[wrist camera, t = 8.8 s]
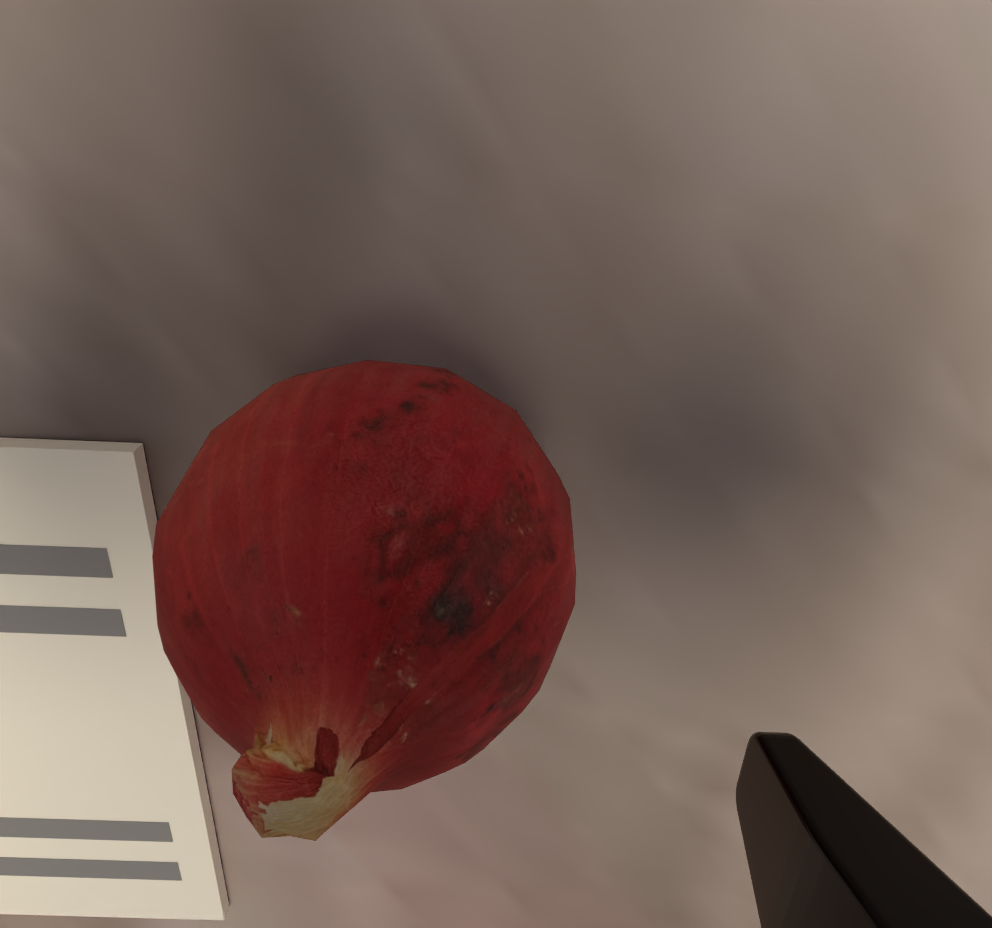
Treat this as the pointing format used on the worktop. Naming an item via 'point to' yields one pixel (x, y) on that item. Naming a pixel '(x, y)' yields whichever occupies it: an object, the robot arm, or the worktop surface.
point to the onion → (362, 584)
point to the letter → (93, 699)
